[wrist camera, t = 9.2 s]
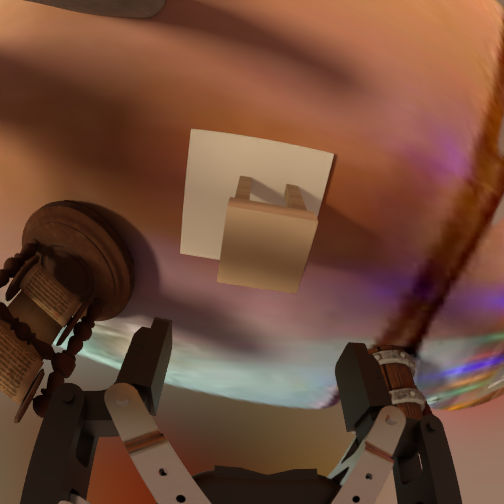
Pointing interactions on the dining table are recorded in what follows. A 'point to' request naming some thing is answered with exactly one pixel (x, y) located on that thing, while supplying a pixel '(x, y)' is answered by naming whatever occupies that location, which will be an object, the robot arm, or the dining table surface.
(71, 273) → the scroll
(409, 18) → the dining table surface
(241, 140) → the mat
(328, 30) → the dining table surface
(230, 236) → the stool
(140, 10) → the hip flask
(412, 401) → the mug
